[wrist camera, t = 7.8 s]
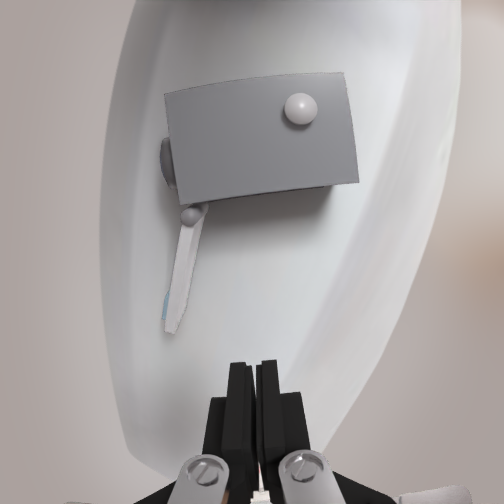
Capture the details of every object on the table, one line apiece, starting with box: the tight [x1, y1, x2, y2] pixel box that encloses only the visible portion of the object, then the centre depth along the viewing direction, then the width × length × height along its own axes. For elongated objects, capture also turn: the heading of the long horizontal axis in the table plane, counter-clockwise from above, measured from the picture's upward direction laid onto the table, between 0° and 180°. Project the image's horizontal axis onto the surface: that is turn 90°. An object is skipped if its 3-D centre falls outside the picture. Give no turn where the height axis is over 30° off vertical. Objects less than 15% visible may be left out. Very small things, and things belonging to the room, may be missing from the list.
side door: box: [162, 202, 209, 334], centre depth 27 cm, size 2×12×6 cm, turn 166°
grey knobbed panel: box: [160, 73, 359, 205], centre depth 24 cm, size 9×16×8 cm, turn 98°
